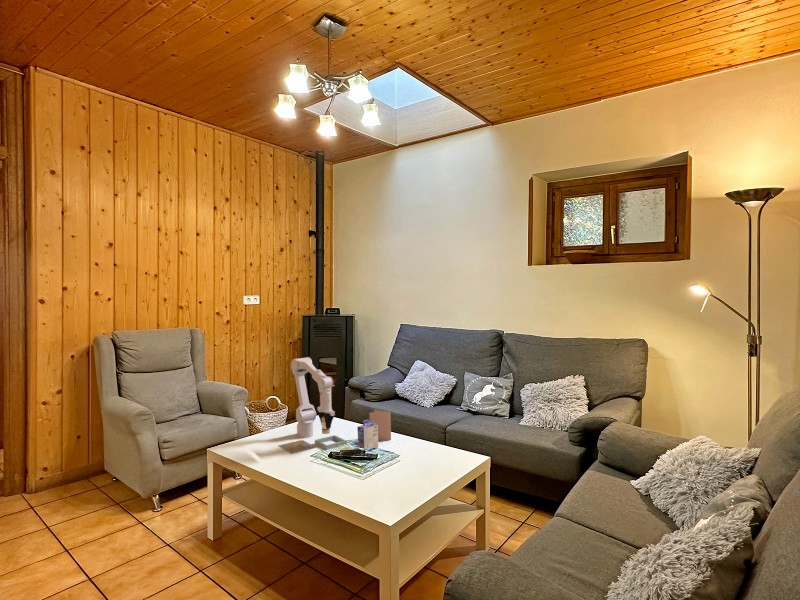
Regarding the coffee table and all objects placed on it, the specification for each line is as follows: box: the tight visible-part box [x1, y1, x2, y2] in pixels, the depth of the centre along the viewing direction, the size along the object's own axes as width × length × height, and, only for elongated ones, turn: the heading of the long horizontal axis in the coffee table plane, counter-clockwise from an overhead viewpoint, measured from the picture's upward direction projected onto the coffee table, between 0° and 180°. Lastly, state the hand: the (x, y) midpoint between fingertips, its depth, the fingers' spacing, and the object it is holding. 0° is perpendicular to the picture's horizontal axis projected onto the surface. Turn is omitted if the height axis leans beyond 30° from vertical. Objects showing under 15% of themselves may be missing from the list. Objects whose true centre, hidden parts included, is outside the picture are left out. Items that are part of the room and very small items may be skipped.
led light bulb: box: [321, 417, 331, 435], centre depth 234 cm, size 4×4×8 cm
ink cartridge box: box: [357, 419, 379, 449], centre depth 231 cm, size 10×6×14 cm, turn 136°
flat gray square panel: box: [277, 439, 318, 455], centre depth 232 cm, size 16×14×4 cm
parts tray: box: [314, 435, 348, 451], centre depth 235 cm, size 12×12×4 cm
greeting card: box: [368, 409, 392, 441], centre depth 246 cm, size 11×7×15 cm, turn 54°
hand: (326, 427), depth 234 cm, fingers closed on led light bulb, 4 cm apart
